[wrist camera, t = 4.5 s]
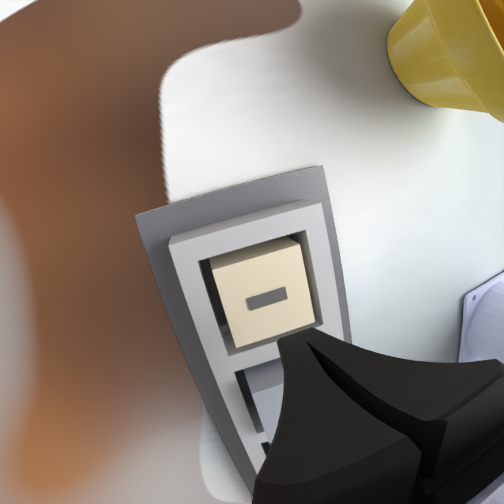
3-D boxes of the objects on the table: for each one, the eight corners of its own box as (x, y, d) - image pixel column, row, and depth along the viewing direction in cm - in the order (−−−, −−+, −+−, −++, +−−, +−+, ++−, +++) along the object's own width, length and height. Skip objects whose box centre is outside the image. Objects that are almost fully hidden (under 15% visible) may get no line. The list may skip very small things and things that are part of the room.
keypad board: (318, 165, 17) (343, 163, 14) (357, 471, 24) (370, 491, 21) (136, 214, 16) (125, 222, 13) (260, 506, 23) (267, 529, 20)
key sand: (282, 234, 17) (300, 244, 14) (297, 302, 18) (315, 322, 15) (208, 255, 16) (212, 270, 13) (229, 324, 17) (236, 349, 15)
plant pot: (337, -6, 15) (426, -85, 5) (442, 8, 16) (527, -28, 6) (386, 140, 17) (519, 130, 8) (480, 126, 19) (581, 123, 9)
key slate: (311, 342, 17) (330, 367, 14) (320, 392, 18) (337, 419, 15) (242, 365, 16) (252, 395, 14) (259, 414, 18) (269, 444, 15)
